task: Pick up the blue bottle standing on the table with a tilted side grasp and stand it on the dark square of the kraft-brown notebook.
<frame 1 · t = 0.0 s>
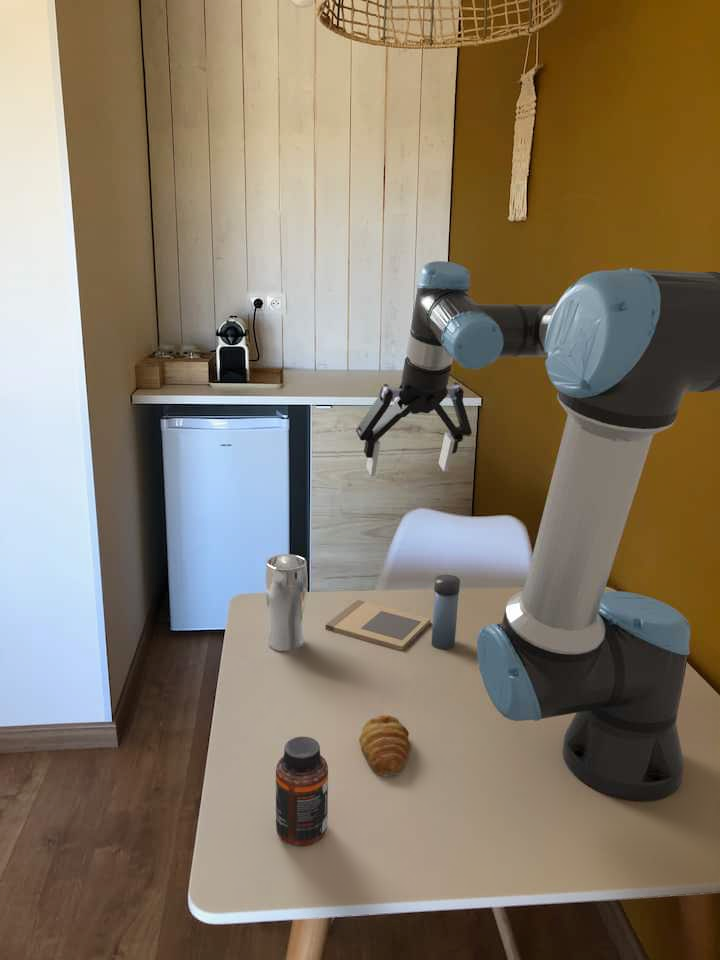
hand: (407, 469, 136), 28 cm above the table, tool tilted 20°, fingers open, 13 cm apart
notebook: (378, 625, 139), on the table
blue bottle: (443, 643, 133), on the table
pastry: (386, 755, 104), on the table
supplement bottle: (301, 831, 90), on the table
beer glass: (286, 644, 132), on the table
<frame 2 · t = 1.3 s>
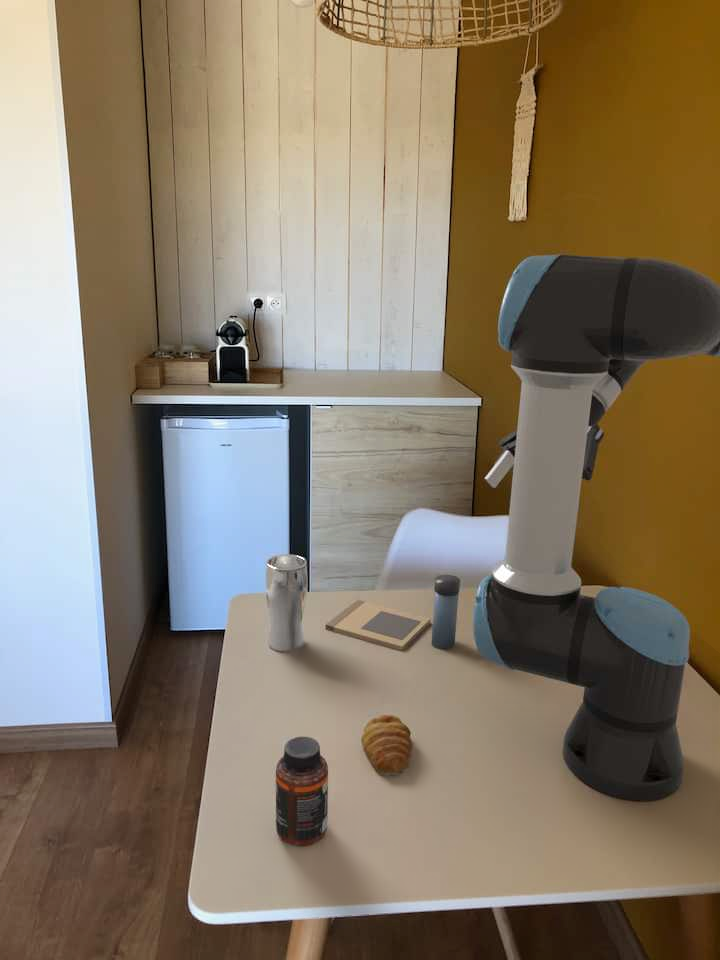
hand: (515, 494, 132), 26 cm above the table, tool tilted 45°, fingers open, 13 cm apart
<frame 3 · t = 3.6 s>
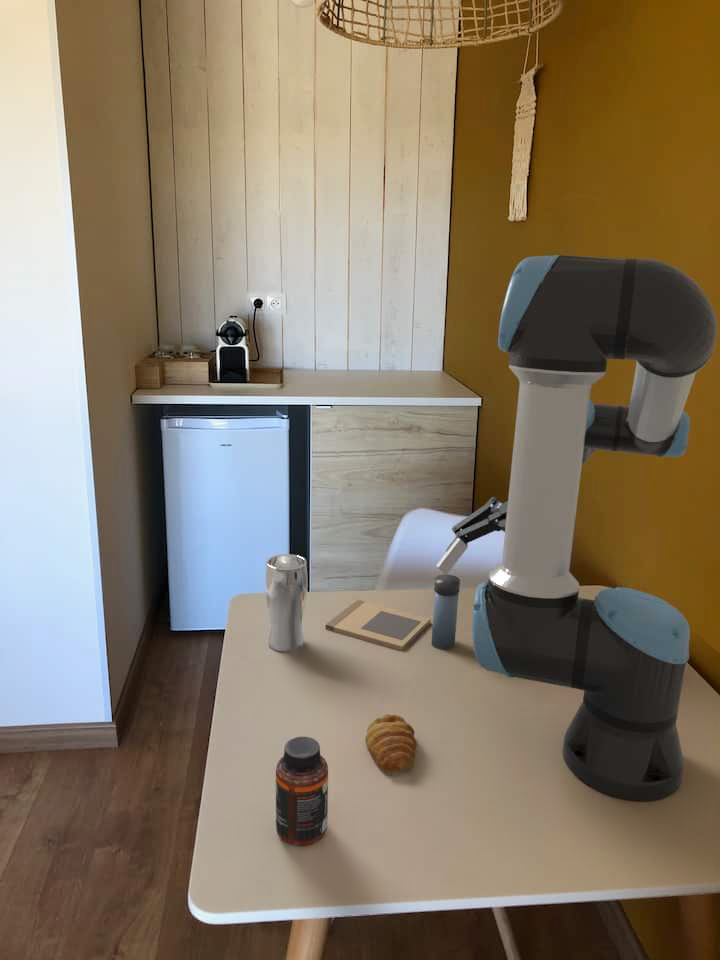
hand: (464, 584, 134), 10 cm above the table, tool tilted 45°, fingers open, 13 cm apart
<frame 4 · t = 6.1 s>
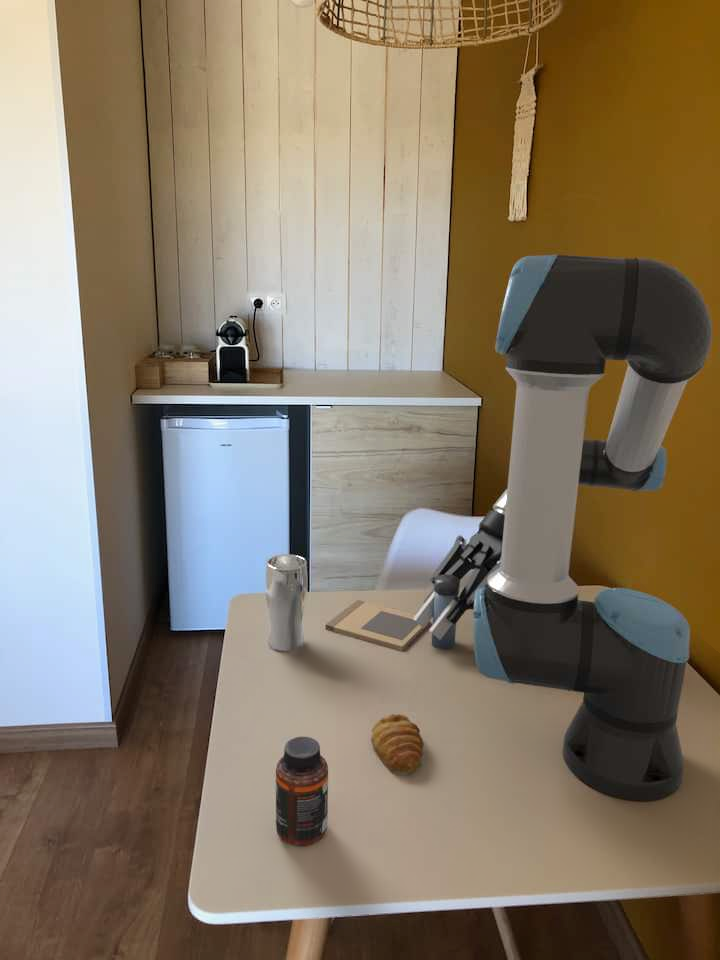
hand: (426, 629, 130), 4 cm above the table, tool tilted 45°, fingers closed on blue bottle, 4 cm apart
blue bottle: (443, 643, 133), on the table, touching gripper
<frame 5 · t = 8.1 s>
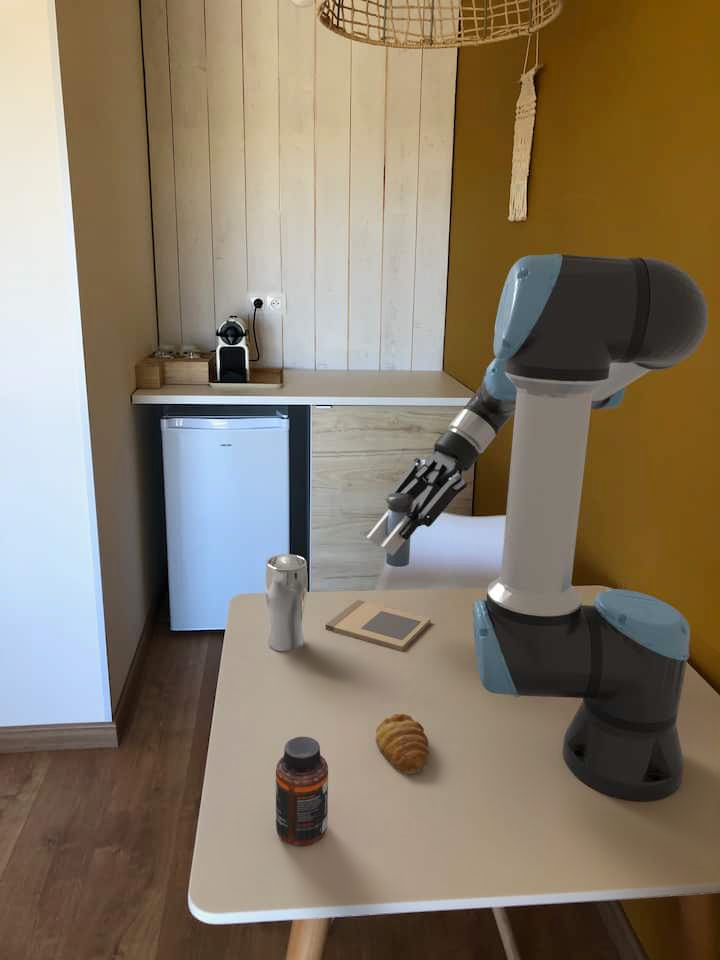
hand: (379, 545, 131), 16 cm above the table, tool tilted 45°, fingers closed on blue bottle, 4 cm apart
blue bottle: (397, 562, 134), point 13 cm above the table, touching gripper
when the fingers open (6 cm above the table, at t = 10.3 s): blue bottle drops 1 cm, resting on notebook.
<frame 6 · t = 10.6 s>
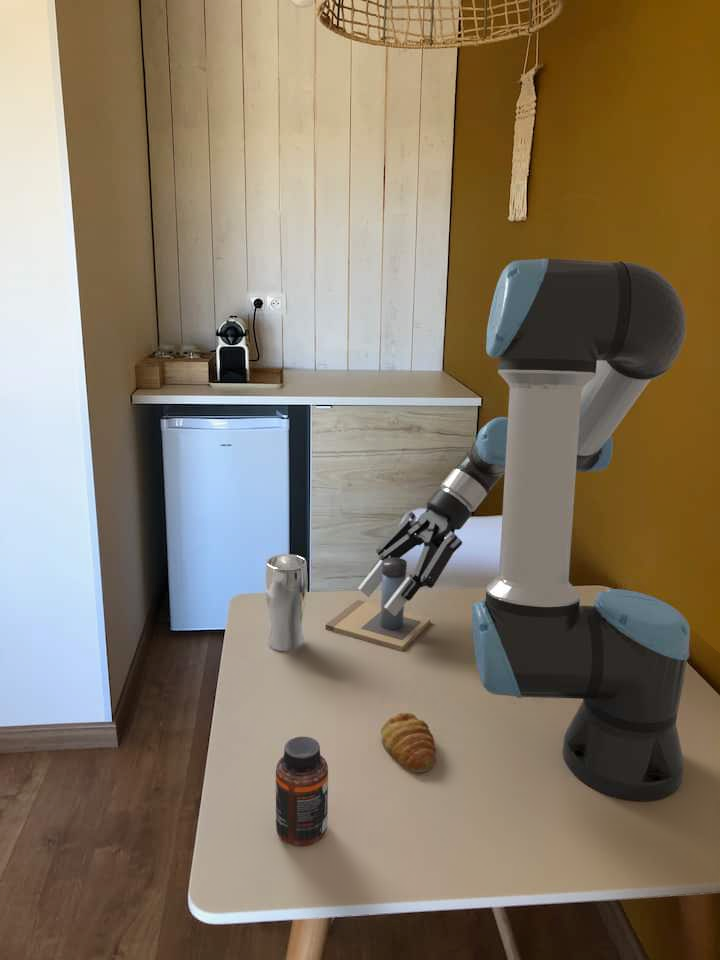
hand: (376, 601, 134), 6 cm above the table, tool tilted 45°, fingers open, 8 cm apart
blue bottle: (391, 624, 138), point 1 cm above the table, touching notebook
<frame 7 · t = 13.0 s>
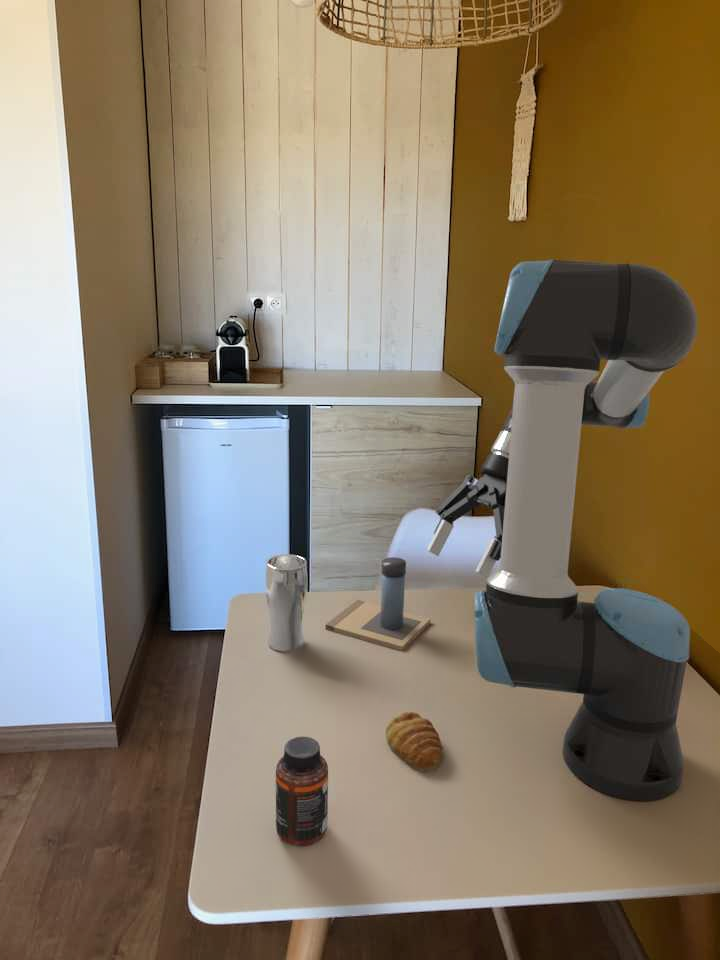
hand: (455, 563, 141), 10 cm above the table, tool tilted 35°, fingers open, 13 cm apart
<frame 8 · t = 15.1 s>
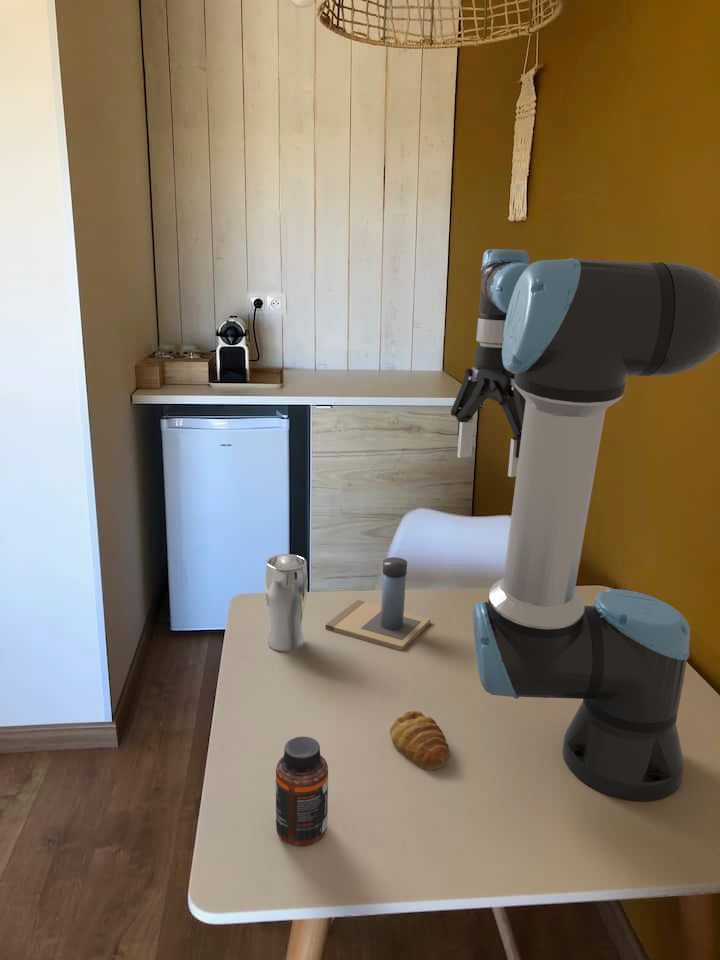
hand: (488, 466, 137), 29 cm above the table, tool pointing down, fingers open, 13 cm apart
at the end: blue bottle inside the target area on the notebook (2.5 cm from its centre), point 0.9 cm above the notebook's base; the gripper is holding nothing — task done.
